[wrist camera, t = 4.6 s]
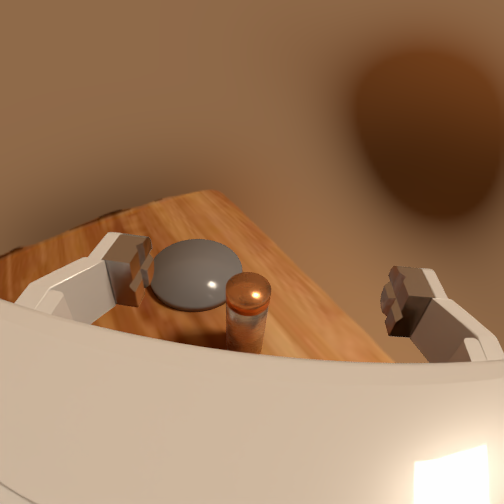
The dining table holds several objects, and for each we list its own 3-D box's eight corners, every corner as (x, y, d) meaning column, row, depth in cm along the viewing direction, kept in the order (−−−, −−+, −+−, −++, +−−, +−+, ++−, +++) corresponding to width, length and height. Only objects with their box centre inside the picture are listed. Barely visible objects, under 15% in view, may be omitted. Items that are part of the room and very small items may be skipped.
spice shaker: (221, 356, 39) (219, 300, 31) (231, 327, 42) (232, 268, 35) (258, 364, 38) (266, 310, 31) (265, 335, 41) (274, 277, 34)
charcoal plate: (134, 297, 44) (133, 292, 43) (171, 238, 54) (171, 232, 54) (227, 322, 42) (227, 316, 42) (251, 254, 53) (251, 248, 52)
